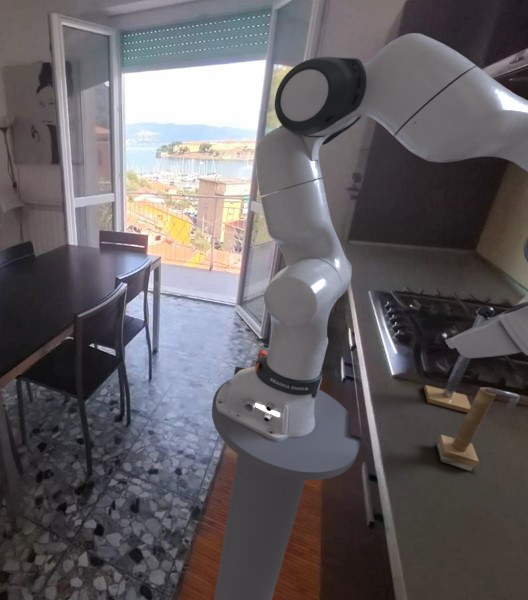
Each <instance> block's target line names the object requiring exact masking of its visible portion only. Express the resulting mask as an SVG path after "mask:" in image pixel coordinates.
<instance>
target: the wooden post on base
mask: <svg viewBox="0 0 528 600" xmlns="http://www.w3.org/2000/svg"><path fill="white" fill-rule="evenodd" d="M478 389H479V390H478V392H477V393H476V395H475V398H474V399H473V401H472V403H471V404H470V406H471V407H470V409H469V411H468V413H466V415H465V417H464V420H463V421H462V423H461V425H460V427H459V429H458V431H457V433H456V435H455V437H452V436H449V435H448V436H447V435H444V434H440V435H439V437H438V439H437V440H438V443H437V446H436V447H437V451H438V455H439V459H440V462H441V463H445V464H448V465H451V466H453V467H456V468H460V469H463V470H465V471H469V472H472V470H473V469H474V467H475V468H476V467H477V466H478V464H479V462H480V461H479V458H478V456H477V453H476V450H475V447H474V444H473V443H472V441H473V439H474V437H475V436H476V433H477V431H478V430H479V428H480V426H481V424H482V422H483V420H484V418H485V417H486V415H487V413H488V412H489V409H490V407H491V405H492V403H493V401H494V400H495V398H496V396H497V395H498V396H502V397H505V398H510V399H509V400H508V402H507V404H506V406H505V407H506V409H507V410H514V409H515V406H516V405H517V403H518V402H519V400H520V397H521V396H520V395H519V394H517V393H514V392H510V391H505V390H502V389H498V388H493V387H488V386H487V387H485V386H481V387H480V388H478Z"/></svg>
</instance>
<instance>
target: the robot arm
mask: <svg viewBox="0 0 528 600" xmlns="http://www.w3.org/2000/svg"><path fill="white" fill-rule="evenodd" d="M274 111H275V116H276V118H277V120H278V122H279V123H280V124H281V125H280V126H278V127H276V128H274V129H272V130H271V131H269V132H268V133H266V134H265V135H264V136H262V138H261V139H260V140H259V142H258V143H257V145H256V148H255V172H256V181H257V183H256V184H257V187H258V189H257V190H258V194H259V198H260V204H261V207H262V208H261V209H262V212H263V216H264V221H265V225H266V230H267V235H268V236H269V237H270V239H272V241H274V242H275V243H276V245H277V247H278V248H279V250H280V252H281V254H282V256H283V258H284V260H285V264H286V267H284V268H282V269H281V270H279V271H278V272H277V273H276V274H275V275H274V276H273V278H271V280H270V282H269V283H268V285H267V287H266V288H265V290H264V295H263V302H264V306H265V309H266V310H267V312H268V314H269V315H270V338H269V342H268V348H267V350H266V349H263V348H262V349H260V350H259V351H258V353H257V360H256V362H255V366H252V367H247V368H245V367H241V366H235V368H234V375H233V377H232V378H231V380H230V379H229V380H230V381H228V380H227V381H228V382H227V381H225V382H226V383H225V382H224V383H225V384H224V383H223V384H224V385H223V386H222V387H221V389H220V390H219V392H218V395H217V398H216V409H217V411H218V412H219V413H221V414H223V415H225V416H226V417H228V418H230V419H232V420H234V421H236V422H238V423H240V424H242V425H244V426H246V427H248V428H250V429H252V430H254V431H256V432H258V433H260V434H262V435H264V436H265V437H267V438H269V439H271V440H273V441H276V442H279V441H283V440H285V439H287V438H291V437H301V436H305V435H307V434H309V433H311V432H312V431H313V429H314V427H315V417H314V404H315V397H316V395H317V393H318V391H319V390H320V387H321V384H322V380H323V371H322V368H323V365H324V360H325V356H326V352H327V350H328V349H327V348H328V345H329V338H328V323H329V317H330V313H331V312H332V309H333V307H334V305H335V304H336V303H337V301H338V300H339V299H340V298H341V297H342V296H343V295H344V294H345V293H346V291H348V289H349V286H350V285H351V280H352V276H353V268H352V264H351V262H350V260H349V259H348V258H347V256H346V255H345V252H344V250H343V246H342V244H341V242H340V239H339V237H338V234H337V232H336V230H335V227H334V225H333V222H332V218H331V214H330V209H329V204H328V200H327V194H326V189H325V184H324V178H323V173H322V168H321V164H320V149H321V147H322V145H323V146H324V145H327V144H328V143H330V142H332V141H333V140H334V139H335V138H337V137H338V136H340V135H341V134H343V133H344V132H346V131H348V129H351V127H352V126H354V125H355V124H357V122H358V121H360V120H361V118H362V117H366V118H367V117H368V118H370V119H373V120H374V121H376V122H377V123H379V124H380V125H381V126H382V127H383V128H385V129H386V130H387V131H388V132H389V134H391V135H392V137H394V139H396V140H397V141H398V142H399V143H400V144H401V145H402V146H403V147H404V148H405V149H406V150H408V151H409V152H410V153H412V154H414V155H415V156H417V157H419V158H420V159H422V160H426V161H427V162H429V163H431V162H432V163H453V162H460V161H464V160H468V159H474V158H487V157H489V158H492V157H493V158H500V159H504V160H506V161H509V162H511V163H514V164H515V165H516V166H518V167H520V168H521V169H522V170H524V171H525V172H527V173H528V99H525V98H524V97H522V96H520V95H518V94H516V93H514V92H513V91H511V90H510V89H508V88H506V87H505V86H504V85H503V84H501V83H500V82H499V81H497V80H496V79H494V78H493V77H491V75H489V74H488V73H486V72H485V71H484V70H483V69H481V68H480V67H479V66H477V65H476V64H475V63H474V62H472V61H471V60H469V59H468V58H467V57H466V56H465V55H462V54H461V53H459V52H458V51H457V50H455V49H453V48H452V47H450V46H449V45H446V44H444V43H443V42H440V41H438V40H436V39H434V38H432V37H430V36H427V35H425V34H422V33H419V32H417V33H416V32H413V33H412V32H411V33H410V32H409V33H406V34H403V35H401V36H399V37H397V38H395V39H393V40H392V41H390V42H388V43H387V44H386V45H384V46H383V47H382V48H381V49H379V50H378V51H377V52H376V54H375V55H373V56H372V57H371V59H369V60H368V61H366V62H365V63H363V62H362V60H360V59H359V58H357V57H337V56H319V57H313V58H309V59H306V60H304V61H302V62H300V63H298V64H297V65H295V66H293V67H292V68H291V69H290V70H289V71H288V72H287V73H286V74H285V75H284V77H283V78H282V79H281V81H280V83H279V85H278V87H277V89H276V92H275V96H274ZM522 251H523V255H524V258H525V260H526V262H527V263H528V235H527V236H526V238H525V240H524V243H523V249H522ZM445 342H446V344H447V345H448V347H449V348H448V349H451V350H456V349H457V350H456V351H457V352H458V353H459V355H461V356H463V357H465V358H471V359H481V358H492V357H502V356H510V355H515V354H519V353H523V354H524V355H525V356H528V292H526V294H525V295H524V297H523V298H522V299H520V300H519V302H517V303H516V304H515V305H514V306H512V307H511V308H509V309H507V310H505V311H503V312H501V313H498V314H496V315H495V316H491V317H490V318H489V319H487V320H485V321H484V322H483V323H481V324H479V325H477V326H474V327H470V328H469V329H467V330H464V331H462V332H460V333H458V334H456V335H454V336H453V335H452V336H451V337H450V338H448V339H446V340H445ZM454 348H456V349H454Z"/></svg>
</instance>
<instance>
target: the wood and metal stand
mask: <svg viewBox="0 0 528 600" xmlns="http://www.w3.org/2000/svg"><path fill="white" fill-rule="evenodd" d="M494 315H495V309H494V308H493V307H492V306H489V305H482V306H480V307H479V308H478V309H477V315H476V318H475V320H474V322H473V324H472V327H474V326H477V325H479V324H481V323H483V322H484V321H485V320H487V319H489V318H492V317H494ZM472 327H471V328H472ZM471 359H472V358H465V357H463V356H461V355H460V354H459V355H458V358H457V360H456V362H455V365H454V367H453V369H452V370H451V373H450V375H449V377H448V380H447V381H446V384H445V387H444V389H443V388H439V387H434V386H431V385H427V384H425V386H424V387H423V390H424V394H425V399H426V402H427V403H428V404H432V405H436V406H440V407H443V408H447V409H451V410H454V411H459V412H462V413H466V414H467V413H468V411H469V409H470V407H471V403H470V401H469V399H468V395H466V394H463V393H458V392H456V391H457V390H458V387H459V385H460V383H461V381H462V379H463V377H464V375H465V372H466V370H467V368H468V366H469V364H470V362H471V361H472V360H471Z"/></svg>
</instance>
